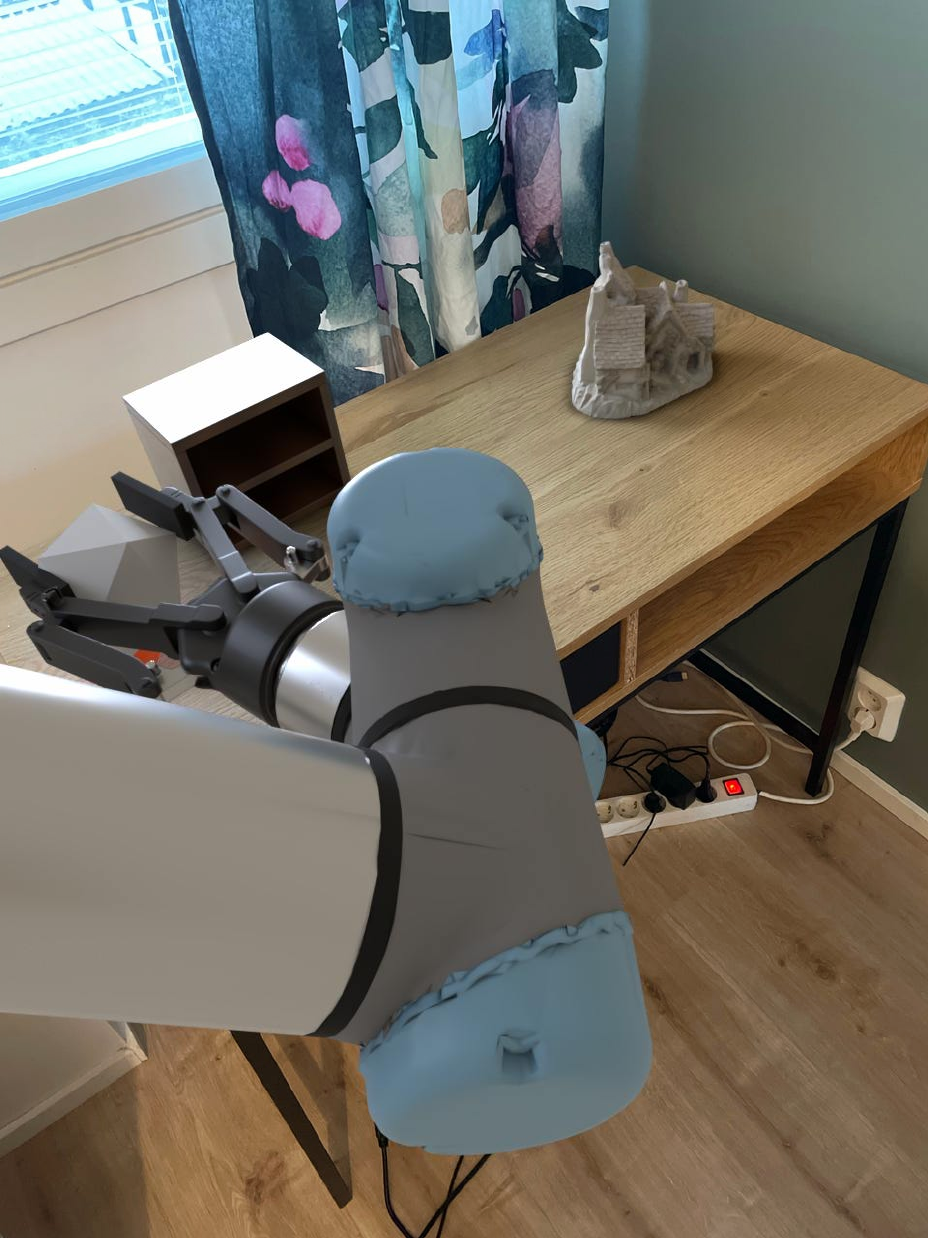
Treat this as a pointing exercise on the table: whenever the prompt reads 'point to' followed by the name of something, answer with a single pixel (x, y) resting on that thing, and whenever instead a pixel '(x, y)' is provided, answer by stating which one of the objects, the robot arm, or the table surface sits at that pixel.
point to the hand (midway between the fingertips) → (69, 526)
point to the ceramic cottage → (640, 345)
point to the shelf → (245, 430)
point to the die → (116, 560)
